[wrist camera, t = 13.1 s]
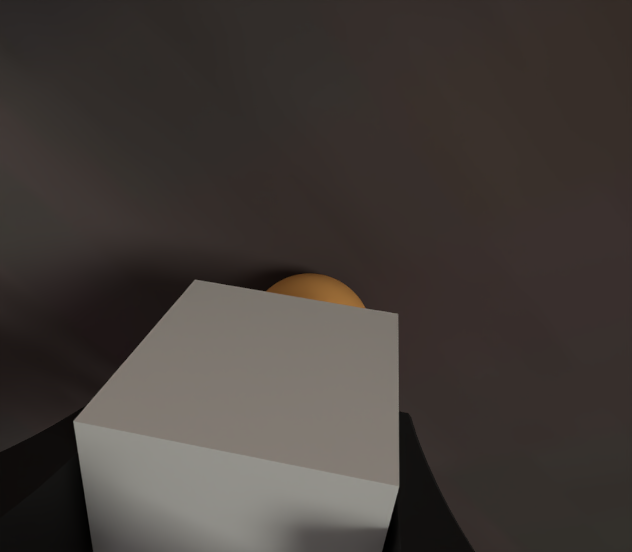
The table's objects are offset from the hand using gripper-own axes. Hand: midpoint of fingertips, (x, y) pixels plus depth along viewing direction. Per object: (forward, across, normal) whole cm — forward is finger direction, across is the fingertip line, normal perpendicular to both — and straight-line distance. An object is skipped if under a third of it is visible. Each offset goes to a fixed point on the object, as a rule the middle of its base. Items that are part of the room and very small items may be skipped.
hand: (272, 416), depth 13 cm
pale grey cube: (+2, 0, 0) cm, 2 cm away
